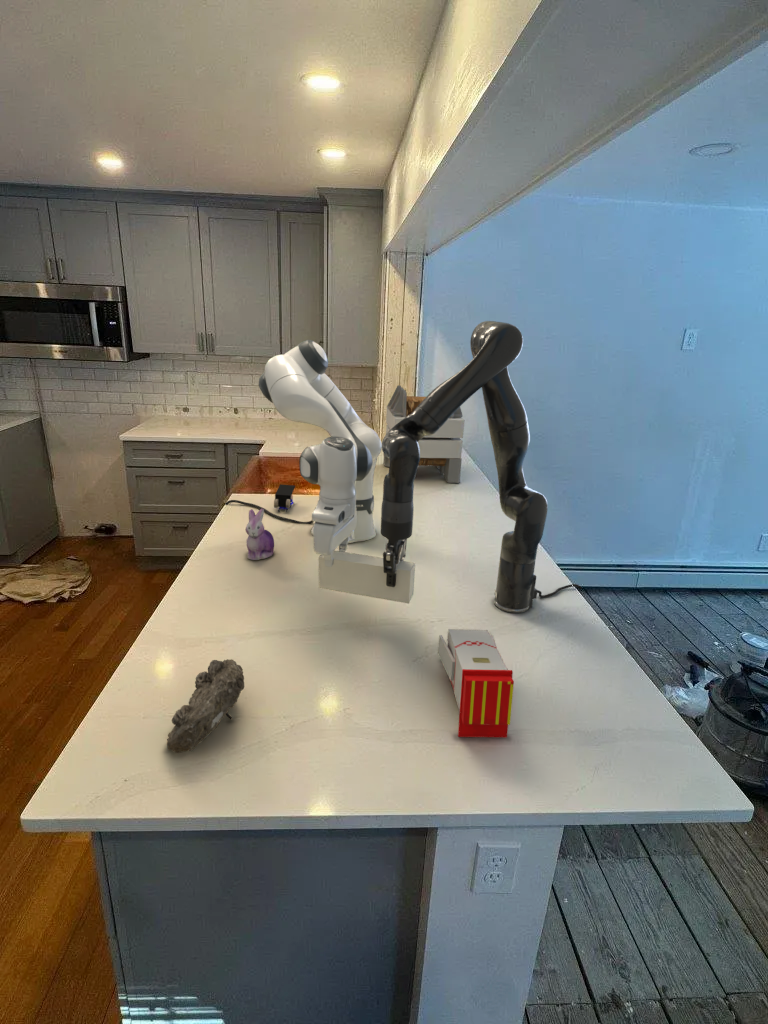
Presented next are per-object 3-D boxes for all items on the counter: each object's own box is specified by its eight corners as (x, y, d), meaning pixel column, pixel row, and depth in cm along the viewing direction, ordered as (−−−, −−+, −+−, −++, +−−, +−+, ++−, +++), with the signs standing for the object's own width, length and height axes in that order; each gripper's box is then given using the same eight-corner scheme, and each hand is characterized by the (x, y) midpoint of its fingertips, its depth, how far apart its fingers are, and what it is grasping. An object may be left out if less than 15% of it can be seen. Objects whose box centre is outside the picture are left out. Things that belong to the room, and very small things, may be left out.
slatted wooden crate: (382, 463, 289) (386, 382, 275) (445, 464, 293) (451, 384, 279) (390, 482, 257) (394, 392, 243) (460, 483, 261) (468, 394, 247)
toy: (488, 613, 130) (523, 677, 101) (484, 667, 133) (517, 744, 104) (435, 612, 130) (455, 676, 101) (432, 666, 133) (451, 743, 103)
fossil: (192, 660, 117) (244, 628, 112) (224, 691, 120) (276, 661, 115) (142, 746, 98) (202, 712, 93) (182, 779, 101) (242, 748, 96)
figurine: (249, 563, 172) (248, 517, 167) (241, 550, 180) (239, 506, 175) (280, 558, 176) (279, 513, 171) (270, 546, 184) (269, 502, 179)
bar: (318, 588, 143) (318, 556, 140) (325, 579, 147) (326, 549, 144) (408, 603, 137) (410, 571, 134) (413, 594, 141) (415, 562, 138)
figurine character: (291, 517, 214) (296, 500, 227) (290, 499, 211) (295, 483, 224) (273, 516, 214) (279, 500, 227) (272, 498, 210) (278, 482, 224)
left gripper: (340, 491, 147) (339, 541, 151) (308, 516, 128) (308, 572, 133) (363, 495, 145) (361, 544, 150) (334, 520, 126) (333, 576, 131)
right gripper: (405, 528, 126) (401, 597, 132) (419, 508, 139) (415, 571, 145) (372, 524, 128) (370, 591, 133) (389, 504, 141) (387, 567, 146)
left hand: (336, 558), depth 141 cm, fingers open, 8 cm apart
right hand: (393, 580), depth 139 cm, fingers closed on bar, 5 cm apart
